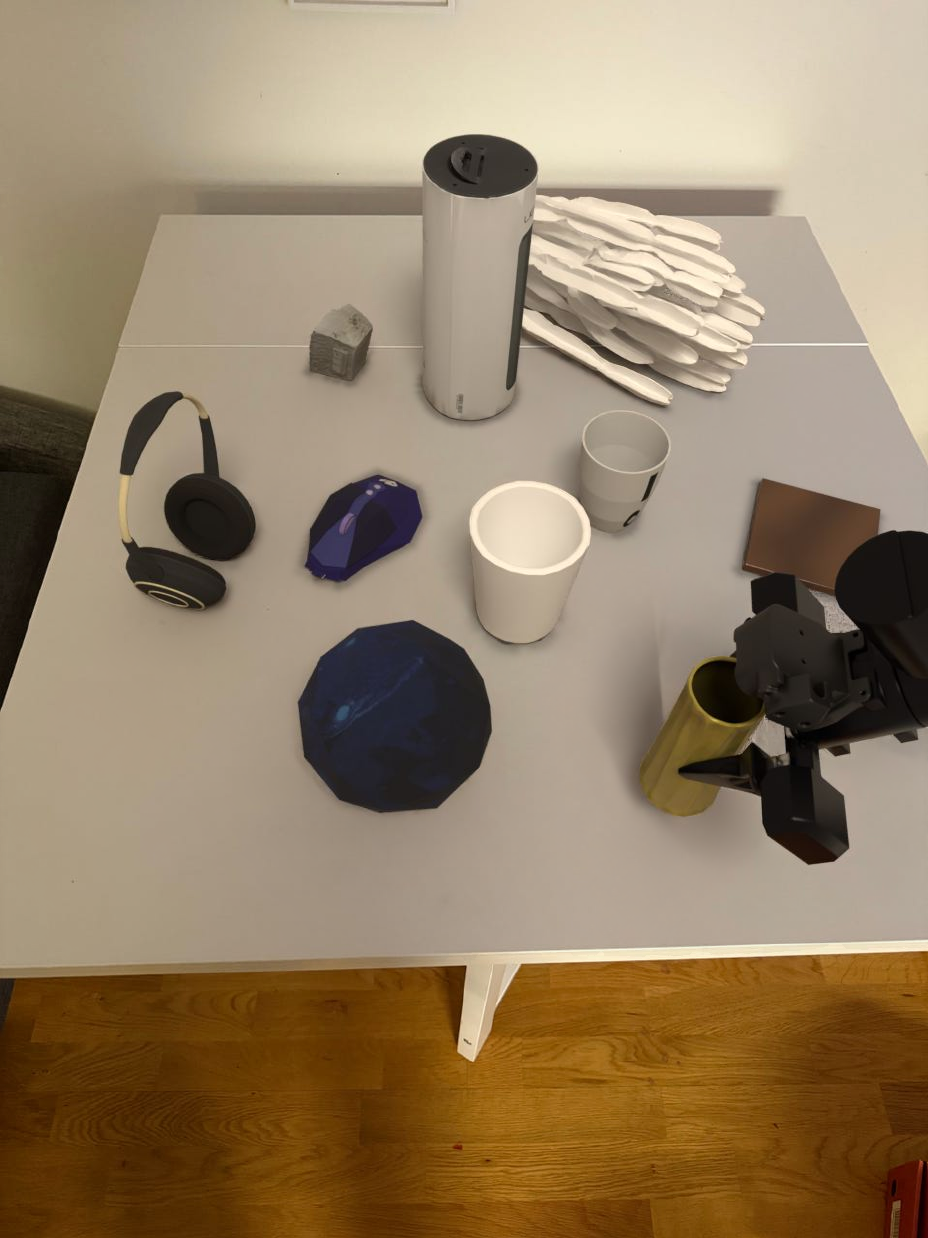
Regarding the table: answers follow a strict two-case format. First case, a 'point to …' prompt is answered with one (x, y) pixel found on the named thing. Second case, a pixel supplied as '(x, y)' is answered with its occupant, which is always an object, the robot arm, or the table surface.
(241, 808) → the table surface
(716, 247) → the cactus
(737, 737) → the vase
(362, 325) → the grey stone block
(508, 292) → the speaker
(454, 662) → the decorative orb
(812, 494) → the serving board
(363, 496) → the computer mouse
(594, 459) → the cup
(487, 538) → the cup
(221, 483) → the headphones
